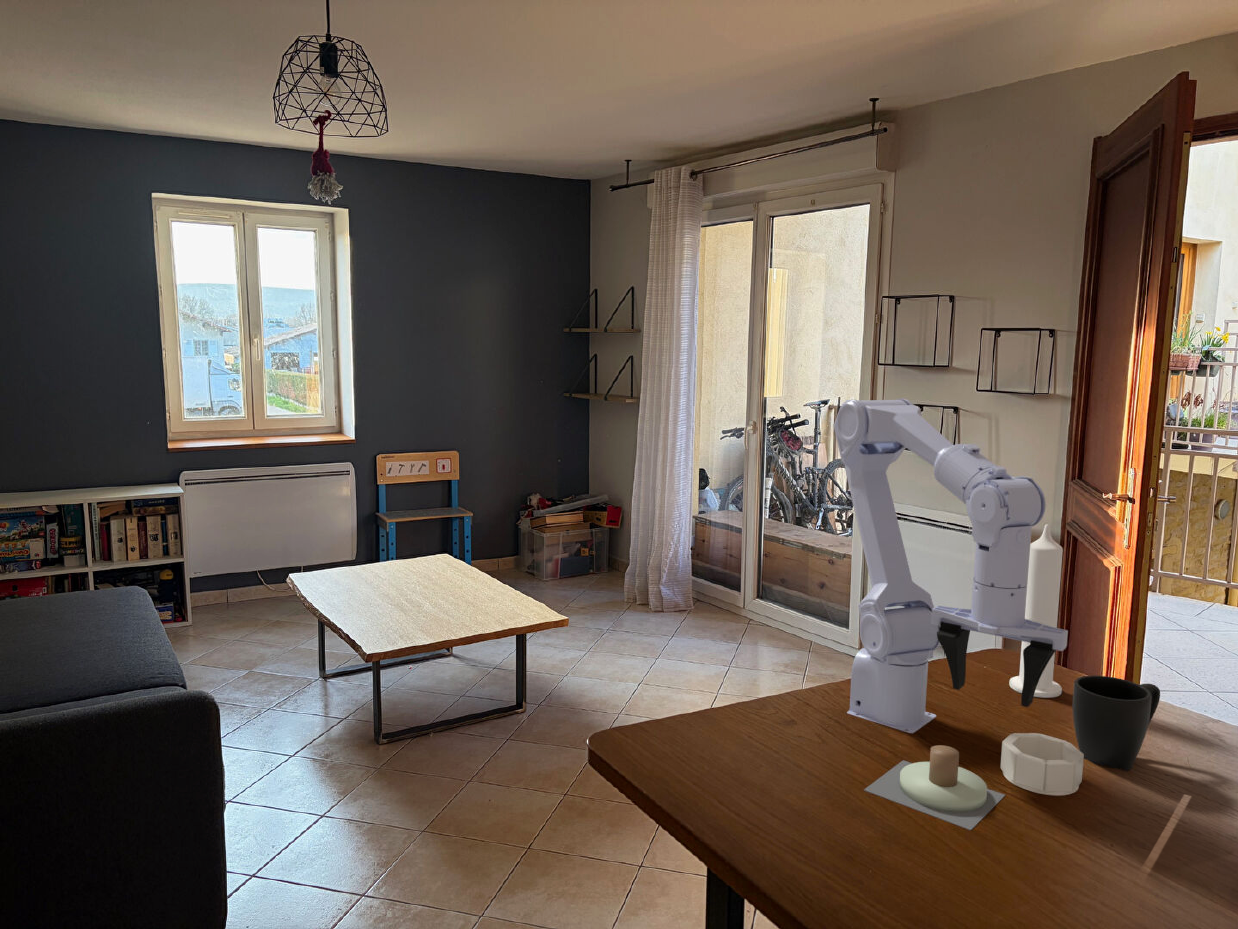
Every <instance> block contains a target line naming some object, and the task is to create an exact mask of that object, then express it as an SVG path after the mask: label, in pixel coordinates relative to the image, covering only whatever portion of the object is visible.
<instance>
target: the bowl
mask: <svg viewBox="0 0 1238 929" xmlns="http://www.w3.org/2000/svg"><path fill="white" fill-rule="evenodd" d="M1084 760H1085V759H1084V755H1083V753H1082V752H1081V751H1080V750H1079V748H1077V747H1076V746H1074V745H1073V744H1072V743H1071V742H1068V741H1067V740H1065V739H1064V740H1063V739H1061V738H1057V737H1053V736H1051V735H1046V734H1043V733H1038V732H1029V733H1028V732H1026V733H1025V732H1021V733H1020V732H1017V733H1015V732H1013V733H1010V734H1009V735H1007V737H1006V738H1005V739H1004V740H1002V742H1001V755H1000V769H1001V770H1002V774H1003V776H1004V777H1005V778H1006V780H1007V781H1008V782H1010V783H1011V784H1013V785H1015V786H1017V787H1019V788H1021V789H1022V790H1023V789H1024V790H1027V791H1029V792H1033V793H1036V794H1040V795H1041V794H1042V795H1047V796H1066V795H1071V794H1073V793H1076V792H1077V791H1078V790H1079V788H1080V784H1081V783H1082V782H1083V771H1084V770H1083V769H1084Z"/></svg>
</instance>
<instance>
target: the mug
mask: <svg viewBox="0 0 1238 929" xmlns="http://www.w3.org/2000/svg"><path fill="white" fill-rule="evenodd" d="M1072 692H1073V694H1072V720H1073V726H1074V731H1075V737H1076V741H1077V745H1078V750H1079V751H1081V752H1082V753H1083V755H1084V760H1086V761H1088V762H1090V763H1093V764H1095V765H1098V766H1102V767H1104V768H1105V767H1106V768H1110V769H1118V770H1121V771H1124V772H1129V771H1130V770H1132V769H1133V765H1134V762H1135V761H1136V758H1137V757H1138V755H1139V752H1140V751H1141V748H1142V745H1143V743H1144V741H1145V737H1146V734H1147V731H1148V728H1149V725H1150V723H1151V721H1152V719H1153V717H1154V715H1155V713H1156V711H1157V708H1158V706H1159V703H1160V698H1161V690H1160V688H1159V687H1158V686H1157V685H1155V684H1153V683H1142V684H1138V683H1135V682H1132V681H1131V680H1126V679H1123V678H1118V677H1112V676H1106V675H1085V676H1084V675H1083V676H1080V677H1077V678H1076V679H1075V680H1074V682H1073V691H1072Z"/></svg>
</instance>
